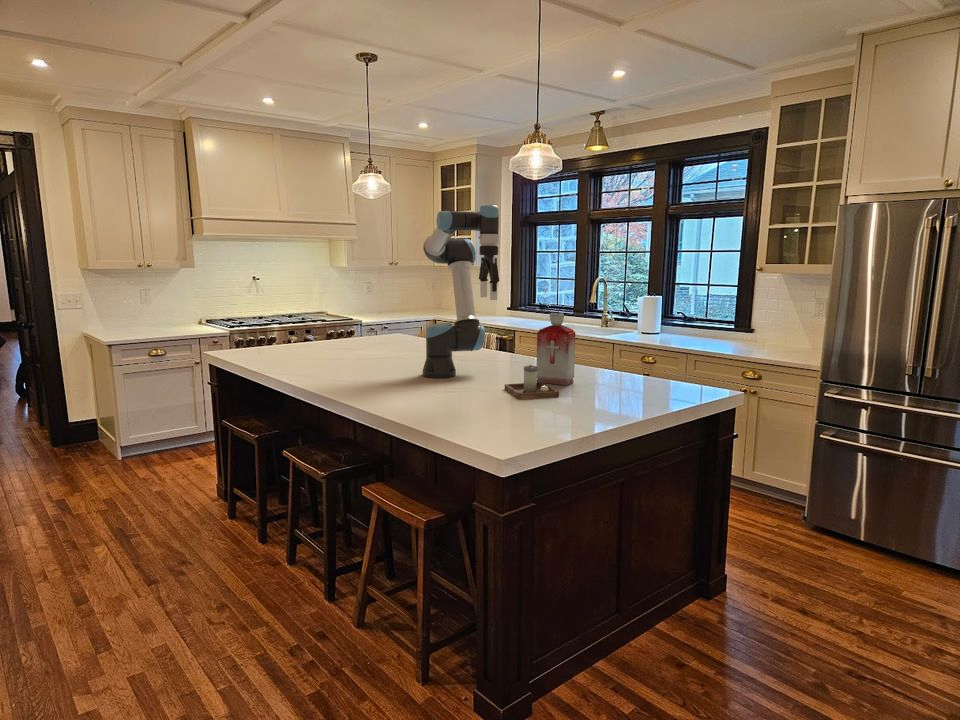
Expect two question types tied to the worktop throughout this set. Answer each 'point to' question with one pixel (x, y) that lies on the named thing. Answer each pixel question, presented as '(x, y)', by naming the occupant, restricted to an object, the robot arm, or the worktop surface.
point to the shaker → (530, 379)
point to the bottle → (556, 352)
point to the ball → (544, 389)
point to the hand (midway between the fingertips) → (488, 298)
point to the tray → (518, 392)
